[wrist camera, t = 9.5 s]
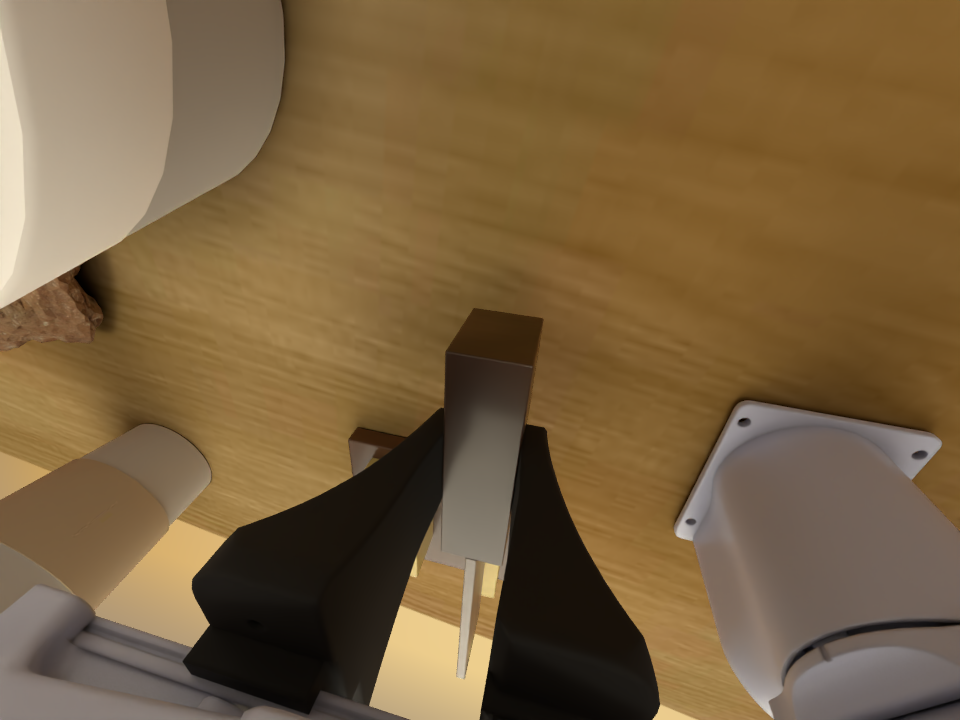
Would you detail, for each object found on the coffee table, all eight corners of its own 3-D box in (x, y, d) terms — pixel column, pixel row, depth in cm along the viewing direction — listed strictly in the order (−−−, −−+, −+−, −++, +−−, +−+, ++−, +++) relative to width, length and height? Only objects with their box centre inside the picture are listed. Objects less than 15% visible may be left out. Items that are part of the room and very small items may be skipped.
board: (511, 566, 28) (508, 582, 27) (368, 528, 30) (360, 542, 29) (531, 465, 23) (529, 480, 22) (357, 426, 25) (347, 439, 24)
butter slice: (502, 553, 26) (493, 599, 23) (480, 547, 26) (469, 592, 23) (513, 489, 22) (504, 534, 20) (488, 483, 23) (476, 527, 20)
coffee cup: (233, 511, 33) (10, 749, 20) (139, 481, 34) (-129, 688, 21) (210, 430, 28) (-98, 673, 15) (102, 397, 29) (-271, 601, 16)
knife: (544, 317, 12) (533, 366, 9) (495, 617, 20) (483, 686, 18) (473, 307, 12) (445, 351, 10) (455, 606, 21) (437, 671, 18)
